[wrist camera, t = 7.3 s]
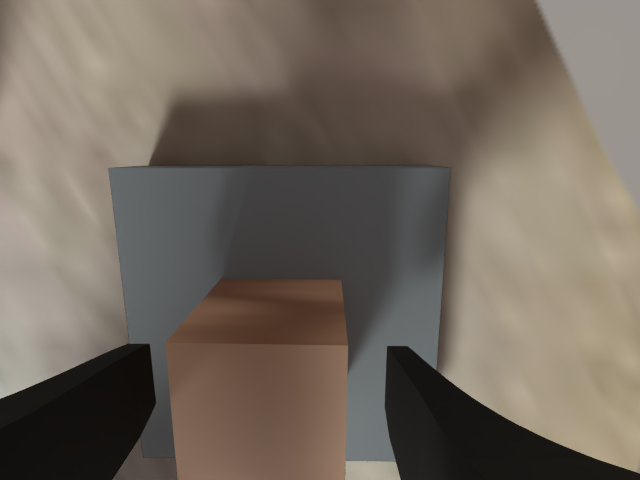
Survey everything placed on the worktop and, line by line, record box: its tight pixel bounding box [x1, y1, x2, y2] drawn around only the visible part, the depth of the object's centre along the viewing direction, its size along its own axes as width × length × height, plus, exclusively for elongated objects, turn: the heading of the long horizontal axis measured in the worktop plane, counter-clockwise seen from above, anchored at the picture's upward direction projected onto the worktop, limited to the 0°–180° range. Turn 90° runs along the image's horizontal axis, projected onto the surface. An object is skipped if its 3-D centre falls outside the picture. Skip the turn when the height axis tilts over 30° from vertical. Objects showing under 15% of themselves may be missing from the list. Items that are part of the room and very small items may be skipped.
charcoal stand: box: [108, 165, 451, 462], centre depth 16 cm, size 12×12×3 cm
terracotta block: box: [165, 279, 348, 480], centre depth 12 cm, size 4×4×5 cm
